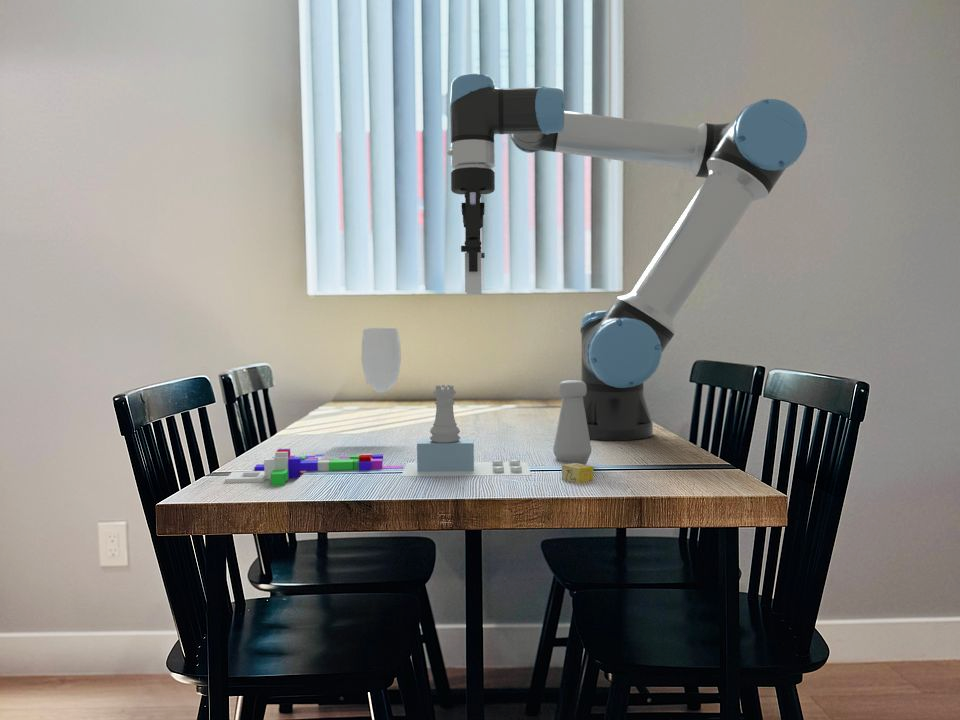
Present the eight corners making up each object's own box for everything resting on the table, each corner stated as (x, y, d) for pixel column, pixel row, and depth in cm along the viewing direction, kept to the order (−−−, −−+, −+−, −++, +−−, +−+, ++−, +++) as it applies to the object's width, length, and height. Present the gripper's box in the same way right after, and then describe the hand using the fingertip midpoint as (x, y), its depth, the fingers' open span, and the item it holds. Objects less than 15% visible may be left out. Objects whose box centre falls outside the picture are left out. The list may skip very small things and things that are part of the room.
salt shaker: (578, 470, 119) (578, 382, 118) (546, 466, 122) (545, 381, 121) (598, 464, 123) (598, 380, 122) (566, 460, 127) (566, 378, 126)
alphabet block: (576, 484, 110) (576, 462, 110) (593, 487, 107) (593, 465, 107) (561, 487, 108) (561, 464, 108) (578, 491, 105) (578, 468, 105)
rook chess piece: (459, 443, 113) (459, 387, 113) (428, 443, 113) (427, 387, 113) (461, 438, 118) (460, 384, 117) (430, 438, 118) (430, 384, 117)
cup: (366, 438, 150) (364, 327, 149) (404, 438, 150) (403, 327, 149) (359, 444, 143) (357, 328, 142) (399, 444, 143) (397, 328, 142)
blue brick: (473, 465, 118) (473, 438, 117) (473, 471, 114) (473, 443, 113) (419, 466, 118) (419, 439, 117) (417, 471, 114) (416, 443, 113)
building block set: (403, 459, 132) (402, 432, 132) (405, 486, 112) (404, 454, 112) (247, 463, 130) (247, 435, 129) (220, 491, 109) (219, 459, 109)
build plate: (527, 468, 121) (527, 457, 121) (531, 482, 111) (531, 470, 111) (407, 469, 121) (407, 458, 121) (401, 483, 111) (400, 471, 111)
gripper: (453, 181, 150) (454, 295, 151) (447, 155, 125) (449, 291, 127) (493, 181, 150) (494, 294, 151) (495, 155, 125) (496, 291, 127)
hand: (473, 293), depth 139 cm, fingers open, 13 cm apart
